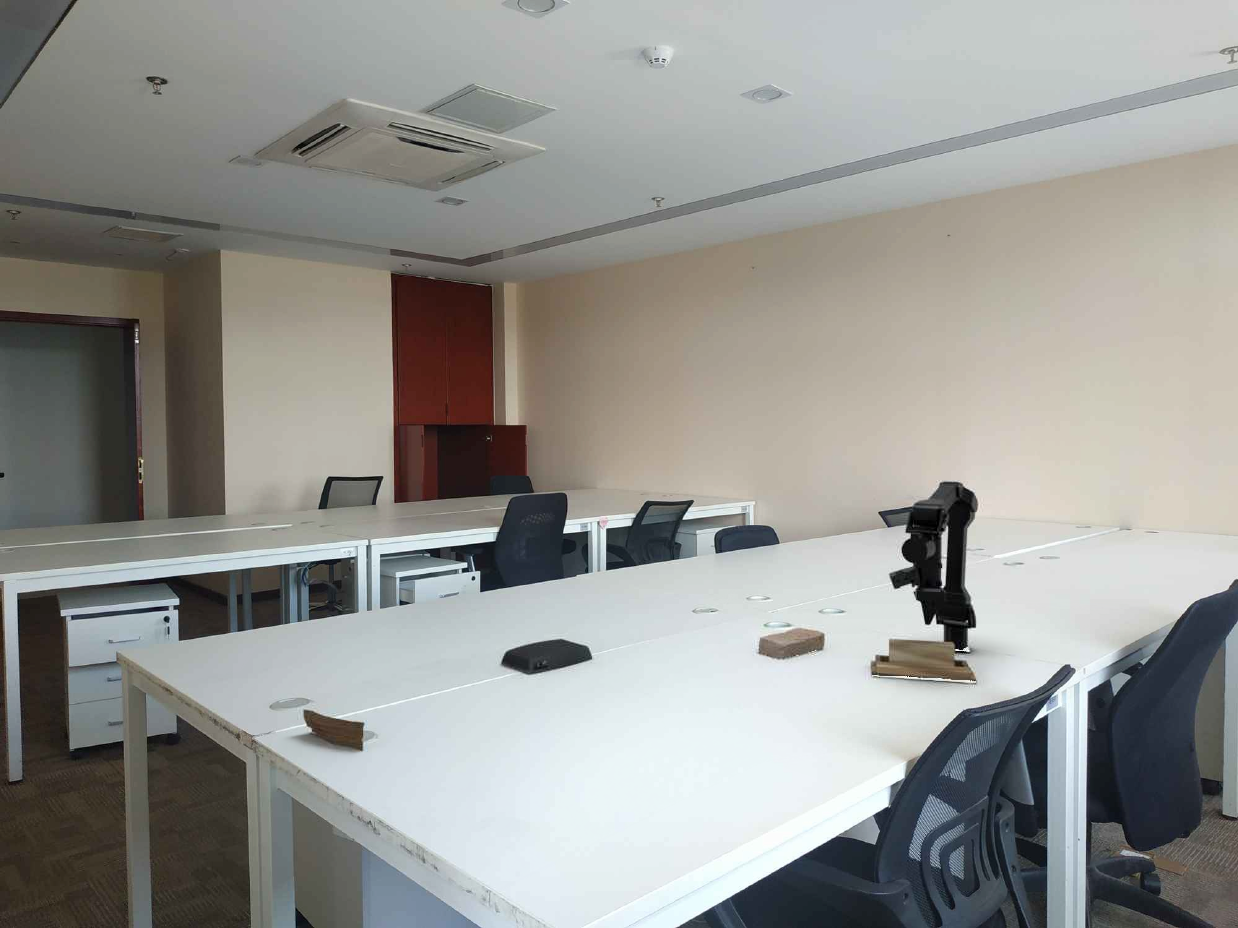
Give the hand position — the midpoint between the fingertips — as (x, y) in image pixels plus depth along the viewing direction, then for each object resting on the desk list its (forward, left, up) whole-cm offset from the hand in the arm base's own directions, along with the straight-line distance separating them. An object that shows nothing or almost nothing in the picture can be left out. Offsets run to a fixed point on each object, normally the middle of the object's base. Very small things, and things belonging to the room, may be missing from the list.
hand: (927, 624), depth 198 cm
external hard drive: (+14, -88, -12) cm, 90 cm away
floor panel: (+3, -1, -11) cm, 11 cm away
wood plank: (+74, -107, -11) cm, 130 cm away
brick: (-10, -31, -11) cm, 35 cm away
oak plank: (+1, -1, -10) cm, 10 cm away
